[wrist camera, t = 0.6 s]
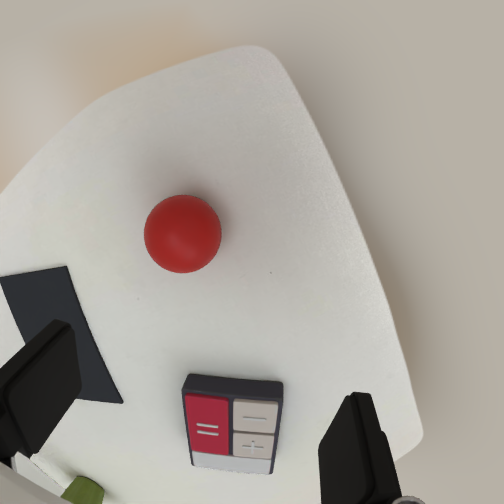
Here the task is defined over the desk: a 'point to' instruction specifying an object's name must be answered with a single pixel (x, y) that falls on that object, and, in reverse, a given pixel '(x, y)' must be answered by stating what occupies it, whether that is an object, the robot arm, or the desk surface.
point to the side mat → (63, 308)
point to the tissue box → (36, 475)
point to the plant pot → (83, 492)
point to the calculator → (232, 423)
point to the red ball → (182, 234)
